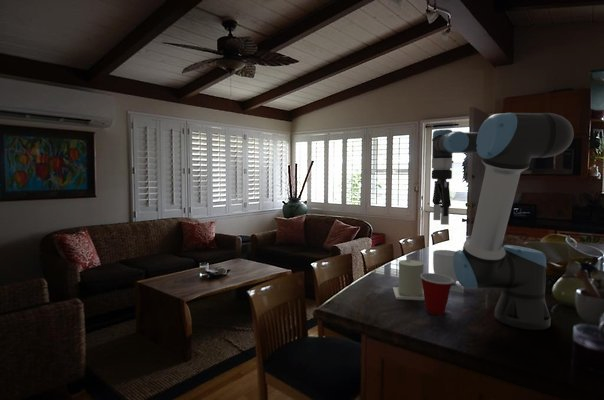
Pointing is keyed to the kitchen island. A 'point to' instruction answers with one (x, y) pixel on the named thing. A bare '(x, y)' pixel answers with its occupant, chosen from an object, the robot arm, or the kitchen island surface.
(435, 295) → the plastic cup
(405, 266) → the can
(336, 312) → the kitchen island surface
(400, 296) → the square picture frame
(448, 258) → the mug
